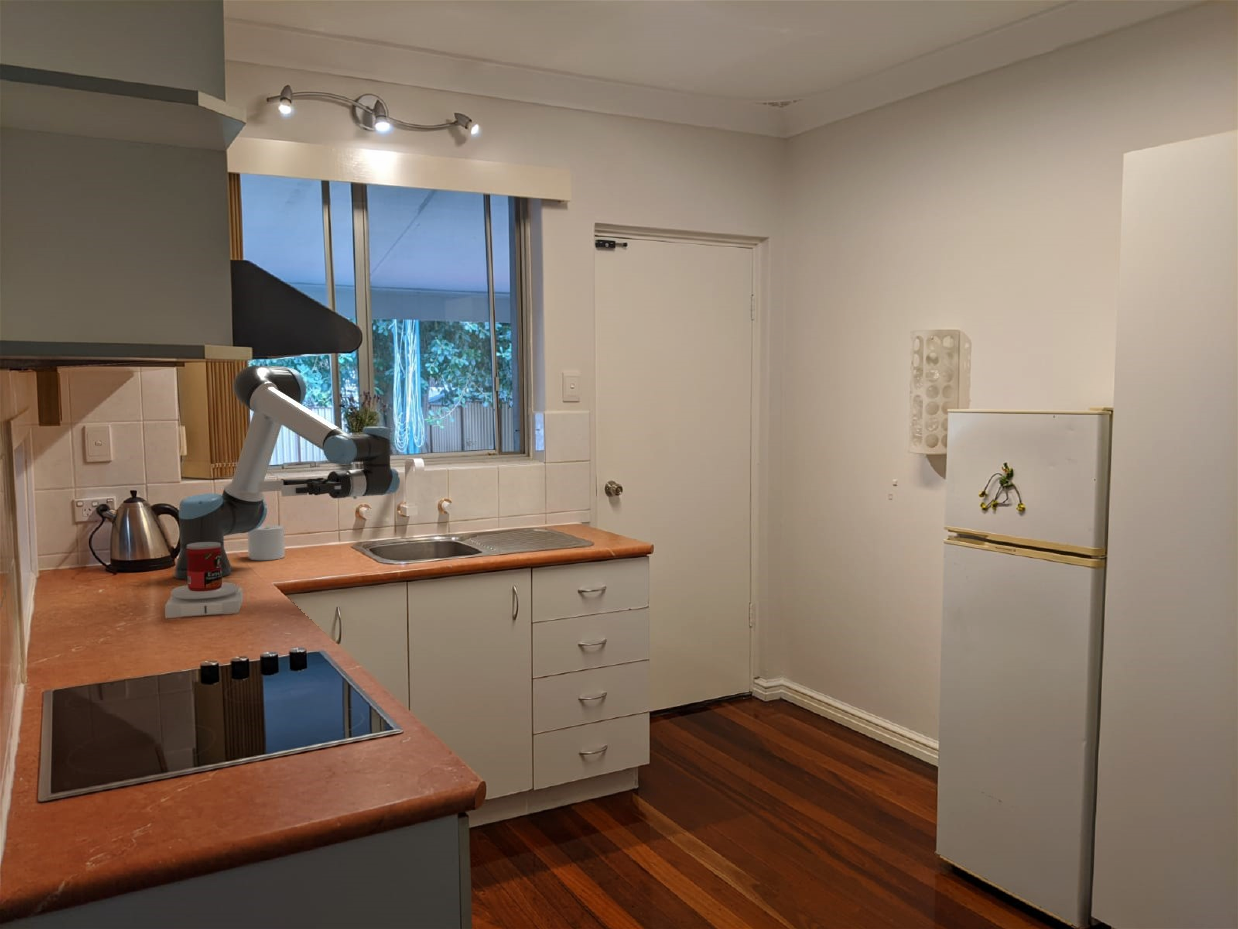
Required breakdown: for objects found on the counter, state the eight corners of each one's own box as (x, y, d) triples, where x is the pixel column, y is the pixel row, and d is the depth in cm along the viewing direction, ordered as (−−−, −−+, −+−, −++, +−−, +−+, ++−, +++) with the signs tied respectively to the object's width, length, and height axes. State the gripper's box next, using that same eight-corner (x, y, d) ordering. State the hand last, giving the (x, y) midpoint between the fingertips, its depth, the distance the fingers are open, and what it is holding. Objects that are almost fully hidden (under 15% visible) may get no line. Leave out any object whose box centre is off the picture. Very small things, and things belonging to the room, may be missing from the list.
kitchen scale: (174, 604, 233) (173, 584, 233) (242, 599, 238) (242, 580, 238) (164, 619, 217) (163, 598, 217) (238, 614, 222) (237, 593, 222)
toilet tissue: (280, 560, 296) (279, 529, 296) (241, 561, 295) (240, 530, 294) (287, 555, 307) (287, 525, 306) (250, 555, 305) (249, 525, 305)
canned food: (209, 592, 224) (208, 547, 223) (180, 590, 225) (178, 546, 224) (229, 586, 231) (227, 542, 230) (200, 584, 233) (199, 541, 232)
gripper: (369, 501, 246) (292, 507, 231) (323, 493, 264) (250, 499, 249) (368, 473, 246) (292, 478, 231) (323, 467, 263) (249, 471, 248)
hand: (270, 488), depth 240 cm, fingers open, 13 cm apart
